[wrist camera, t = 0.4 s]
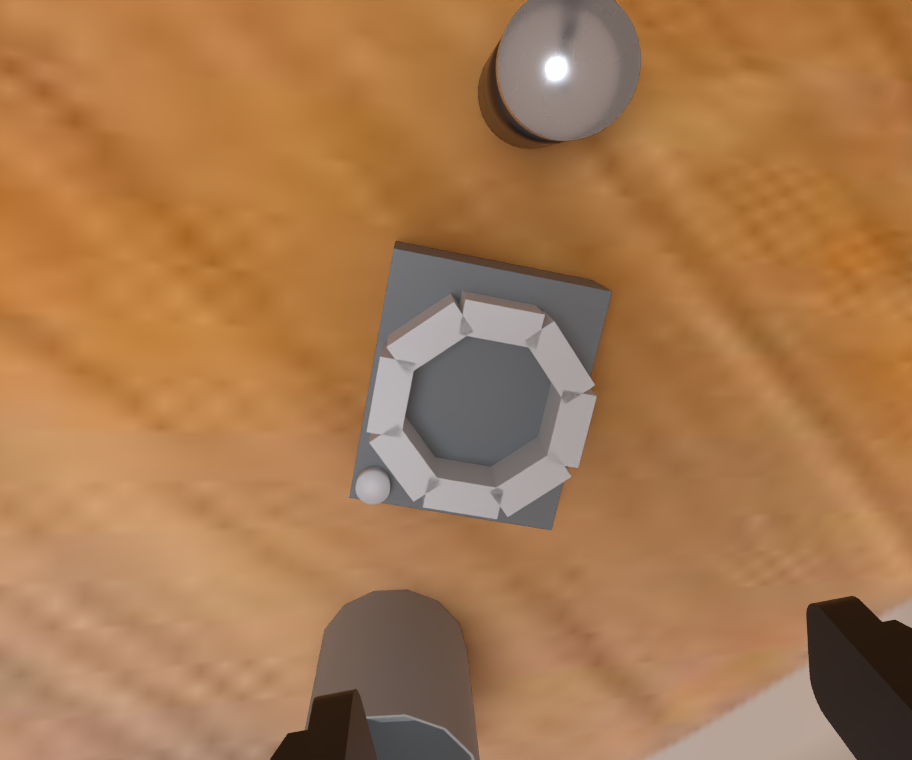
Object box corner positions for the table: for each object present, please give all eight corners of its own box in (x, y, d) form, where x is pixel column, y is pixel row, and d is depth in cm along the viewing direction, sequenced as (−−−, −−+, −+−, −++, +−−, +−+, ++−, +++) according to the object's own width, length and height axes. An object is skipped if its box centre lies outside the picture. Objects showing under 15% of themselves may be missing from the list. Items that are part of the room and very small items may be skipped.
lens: (489, 22, 34) (515, -31, 25) (596, 47, 35) (657, 3, 26) (467, 137, 35) (484, 123, 27) (570, 159, 36) (620, 153, 27)
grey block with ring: (395, 241, 36) (392, 253, 30) (591, 280, 37) (627, 300, 31) (355, 466, 39) (344, 521, 33) (538, 496, 40) (561, 555, 34)
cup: (490, 620, 42) (513, 751, 33) (431, 733, 44) (436, 889, 34) (352, 569, 41) (334, 689, 31) (297, 687, 43) (263, 836, 33)
